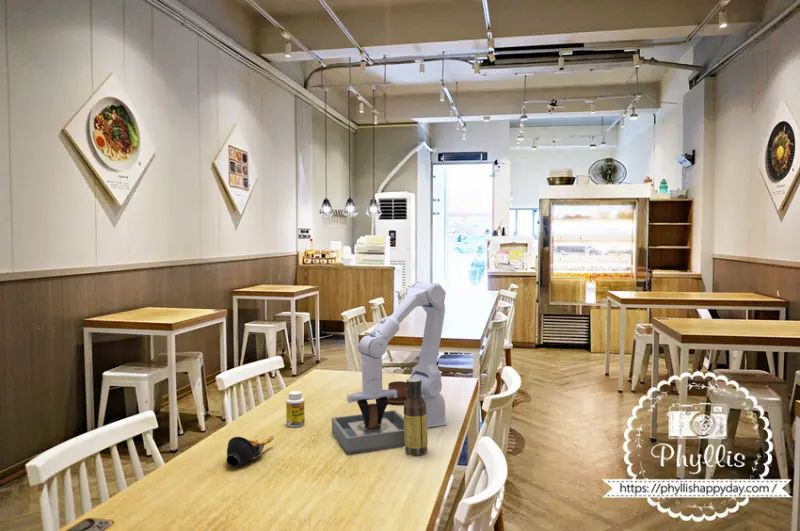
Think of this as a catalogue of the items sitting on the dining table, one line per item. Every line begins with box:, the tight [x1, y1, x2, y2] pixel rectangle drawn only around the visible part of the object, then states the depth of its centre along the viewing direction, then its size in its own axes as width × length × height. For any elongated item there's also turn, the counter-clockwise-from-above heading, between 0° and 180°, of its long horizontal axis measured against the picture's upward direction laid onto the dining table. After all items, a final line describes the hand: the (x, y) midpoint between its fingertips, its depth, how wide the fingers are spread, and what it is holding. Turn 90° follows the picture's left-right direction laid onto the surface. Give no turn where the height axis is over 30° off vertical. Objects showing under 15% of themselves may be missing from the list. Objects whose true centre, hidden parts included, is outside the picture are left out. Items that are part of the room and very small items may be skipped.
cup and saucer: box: [387, 380, 408, 404], centre depth 191 cm, size 12×12×6 cm
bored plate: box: [347, 418, 398, 437], centre depth 154 cm, size 12×12×2 cm
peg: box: [367, 403, 378, 430], centre depth 154 cm, size 3×3×8 cm
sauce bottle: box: [403, 377, 429, 457], centre depth 144 cm, size 6×6×20 cm
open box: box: [331, 409, 405, 456], centre depth 154 cm, size 20×18×4 cm
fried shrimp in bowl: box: [226, 435, 274, 468], centre depth 141 cm, size 8×10×16 cm
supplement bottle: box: [285, 390, 306, 428], centre depth 166 cm, size 6×6×10 cm
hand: (372, 424), depth 154 cm, fingers closed on peg, 3 cm apart
